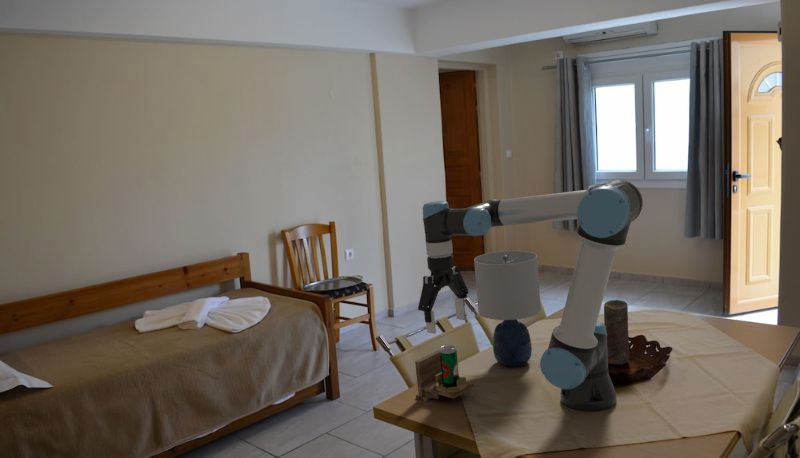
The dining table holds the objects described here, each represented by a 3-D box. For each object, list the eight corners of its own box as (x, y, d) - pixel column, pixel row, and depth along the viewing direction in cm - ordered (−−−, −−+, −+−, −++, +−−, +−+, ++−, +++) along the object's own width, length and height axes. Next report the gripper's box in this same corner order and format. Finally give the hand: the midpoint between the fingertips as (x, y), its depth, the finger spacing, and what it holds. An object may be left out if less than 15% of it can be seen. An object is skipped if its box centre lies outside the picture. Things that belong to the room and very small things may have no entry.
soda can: (458, 389, 190) (455, 350, 188) (441, 389, 191) (438, 350, 189) (460, 382, 195) (457, 344, 193) (443, 382, 196) (440, 344, 194)
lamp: (470, 366, 217) (461, 259, 212) (508, 348, 231) (500, 247, 225) (519, 379, 202) (510, 265, 197) (556, 359, 216) (549, 251, 210)
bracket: (476, 395, 194) (472, 357, 192) (453, 409, 186) (449, 369, 185) (439, 385, 204) (435, 349, 202) (415, 398, 196) (412, 360, 195)
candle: (632, 360, 209) (629, 300, 206) (627, 368, 203) (624, 307, 199) (608, 357, 213) (605, 299, 210) (602, 365, 207) (599, 305, 204)
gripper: (456, 245, 198) (462, 312, 201) (400, 263, 180) (408, 336, 184) (476, 247, 193) (482, 315, 196) (420, 265, 175) (428, 340, 179)
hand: (446, 325), depth 190 cm, fingers open, 13 cm apart
